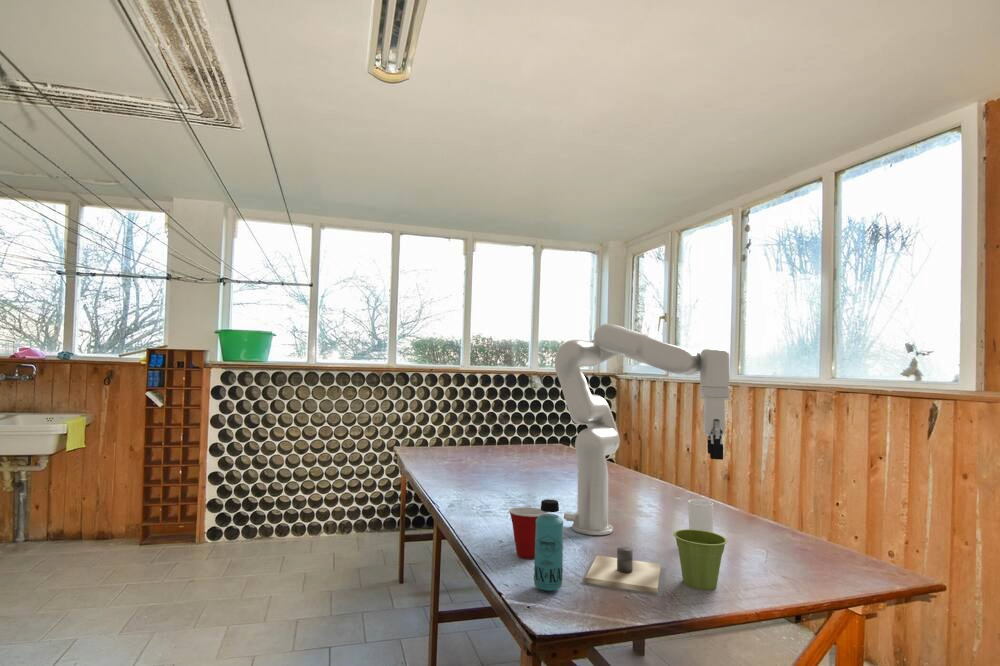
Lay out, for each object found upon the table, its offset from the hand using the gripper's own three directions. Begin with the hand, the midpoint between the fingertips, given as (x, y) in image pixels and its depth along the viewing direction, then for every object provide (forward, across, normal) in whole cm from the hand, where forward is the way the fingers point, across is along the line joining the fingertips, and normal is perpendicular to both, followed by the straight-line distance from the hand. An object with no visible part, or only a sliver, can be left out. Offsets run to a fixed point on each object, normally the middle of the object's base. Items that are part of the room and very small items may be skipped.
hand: (715, 456), depth 145 cm
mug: (+27, -11, -3) cm, 29 cm away
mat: (+27, +24, -22) cm, 42 cm away
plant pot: (+27, +22, -5) cm, 36 cm away
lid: (+26, +24, -22) cm, 42 cm away
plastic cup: (+27, +17, -48) cm, 58 cm away
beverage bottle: (+27, +38, -38) cm, 60 cm away
